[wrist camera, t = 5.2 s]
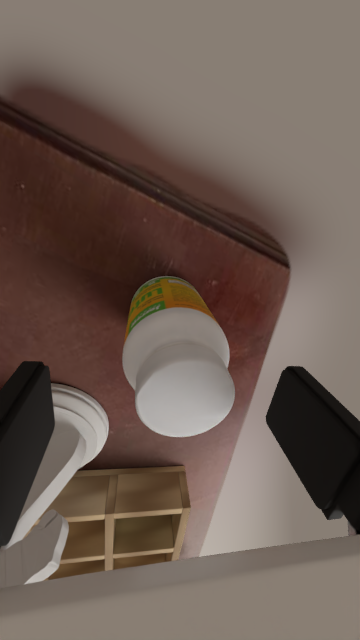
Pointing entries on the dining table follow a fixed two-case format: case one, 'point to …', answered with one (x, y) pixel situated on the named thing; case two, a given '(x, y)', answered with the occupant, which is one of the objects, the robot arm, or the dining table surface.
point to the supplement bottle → (176, 359)
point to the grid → (121, 518)
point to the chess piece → (53, 487)
